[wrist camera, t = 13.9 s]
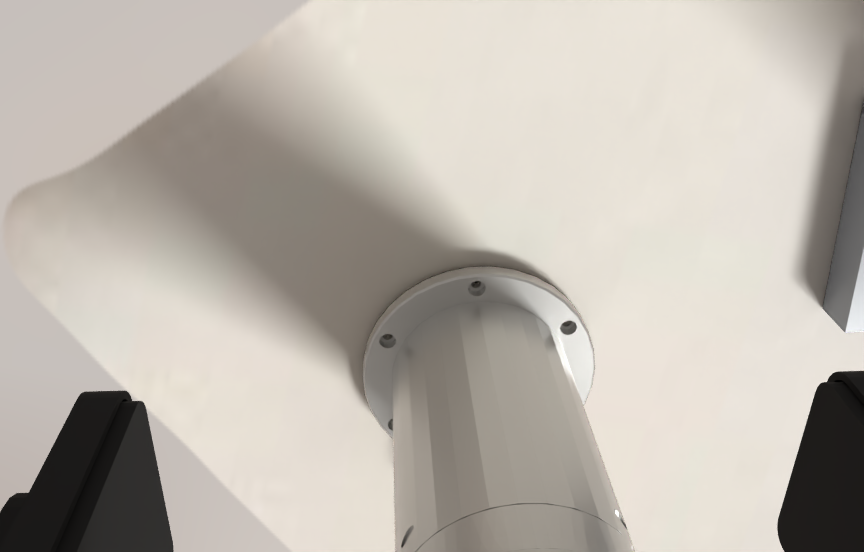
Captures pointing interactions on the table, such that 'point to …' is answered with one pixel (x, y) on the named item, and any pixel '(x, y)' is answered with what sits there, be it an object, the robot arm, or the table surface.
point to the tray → (849, 250)
